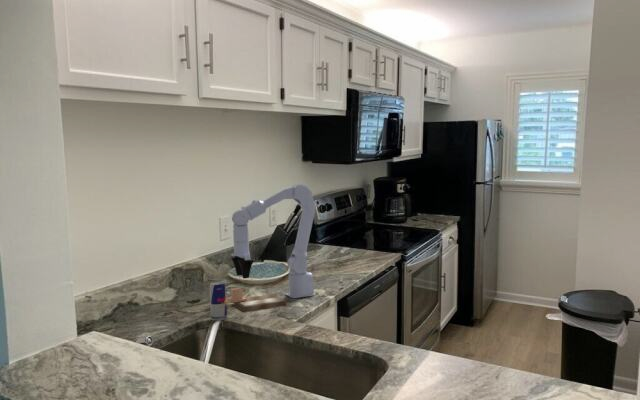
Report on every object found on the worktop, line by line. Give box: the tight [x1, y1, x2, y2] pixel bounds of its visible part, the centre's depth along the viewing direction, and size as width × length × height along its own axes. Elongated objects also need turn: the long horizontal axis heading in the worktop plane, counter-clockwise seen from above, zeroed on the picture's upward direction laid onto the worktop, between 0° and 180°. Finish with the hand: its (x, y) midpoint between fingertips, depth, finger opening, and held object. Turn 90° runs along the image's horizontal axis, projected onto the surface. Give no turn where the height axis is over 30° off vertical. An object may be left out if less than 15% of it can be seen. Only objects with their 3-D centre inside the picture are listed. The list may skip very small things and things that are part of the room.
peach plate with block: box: [226, 287, 248, 304], centre depth 182 cm, size 6×5×4 cm
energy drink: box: [208, 281, 228, 322], centre depth 164 cm, size 5×5×12 cm
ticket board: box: [233, 293, 287, 312], centre depth 182 cm, size 16×14×2 cm
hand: (242, 276), depth 189 cm, fingers open, 7 cm apart
